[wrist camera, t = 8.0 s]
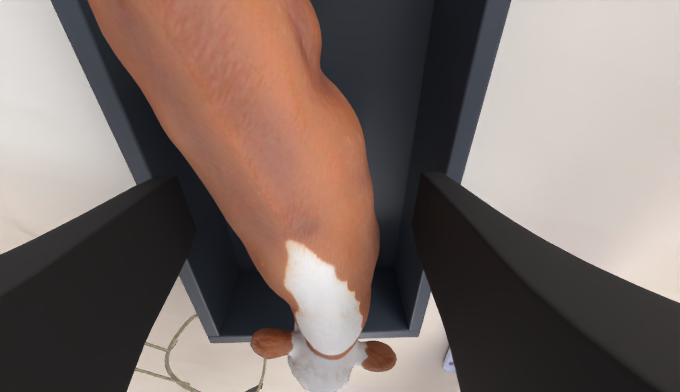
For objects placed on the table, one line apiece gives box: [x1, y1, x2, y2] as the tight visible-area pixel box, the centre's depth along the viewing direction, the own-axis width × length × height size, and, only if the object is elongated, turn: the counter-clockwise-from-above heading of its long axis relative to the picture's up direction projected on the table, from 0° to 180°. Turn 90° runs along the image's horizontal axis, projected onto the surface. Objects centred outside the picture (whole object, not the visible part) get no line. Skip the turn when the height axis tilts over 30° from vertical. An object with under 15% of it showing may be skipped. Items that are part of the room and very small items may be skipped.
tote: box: [51, 0, 511, 343], centre depth 11 cm, size 18×10×4 cm, turn 0°
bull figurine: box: [87, 0, 397, 392], centre depth 9 cm, size 4×13×8 cm, turn 12°
